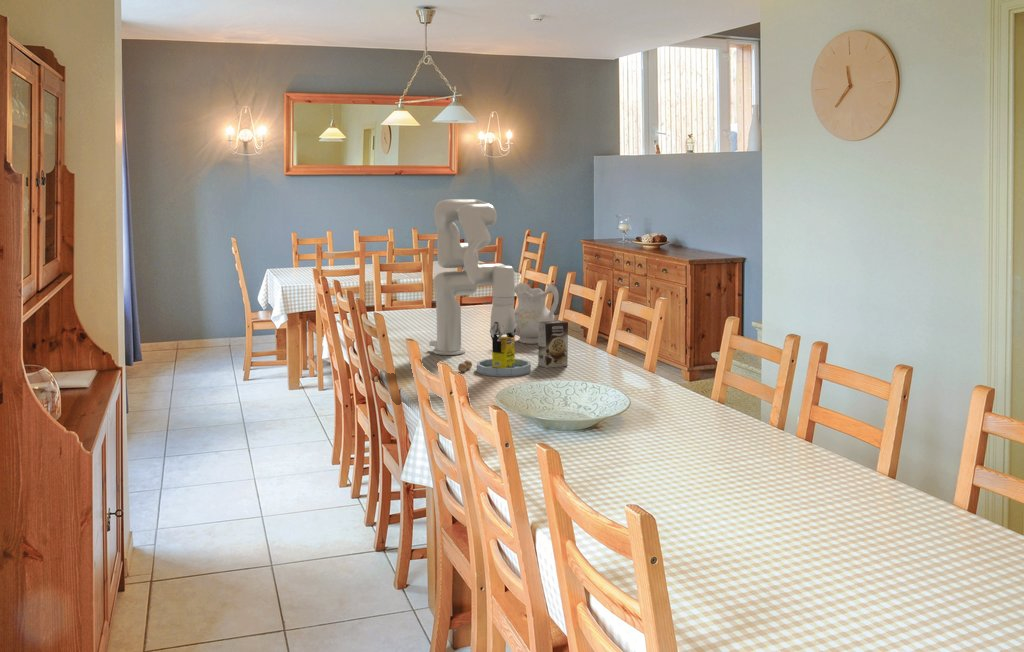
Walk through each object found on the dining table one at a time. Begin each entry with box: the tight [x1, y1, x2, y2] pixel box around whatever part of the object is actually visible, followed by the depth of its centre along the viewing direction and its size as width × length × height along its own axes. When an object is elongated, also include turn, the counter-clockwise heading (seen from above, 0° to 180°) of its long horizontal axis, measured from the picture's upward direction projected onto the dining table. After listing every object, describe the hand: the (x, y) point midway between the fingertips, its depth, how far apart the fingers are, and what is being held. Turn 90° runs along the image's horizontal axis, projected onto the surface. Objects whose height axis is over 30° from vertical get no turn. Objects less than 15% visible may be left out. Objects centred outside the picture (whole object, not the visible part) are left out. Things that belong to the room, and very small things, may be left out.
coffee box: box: [537, 319, 569, 369], centre depth 328 cm, size 9×6×16 cm
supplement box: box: [491, 336, 516, 368], centre depth 319 cm, size 6×6×11 cm
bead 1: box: [457, 362, 468, 373], centre depth 318 cm, size 3×3×3 cm
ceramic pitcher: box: [514, 282, 560, 345], centre depth 377 cm, size 22×20×25 cm
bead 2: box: [463, 359, 473, 370], centre depth 323 cm, size 3×3×3 cm
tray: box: [476, 358, 532, 378], centre depth 319 cm, size 19×19×3 cm
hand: (503, 350), depth 318 cm, fingers open, 9 cm apart
